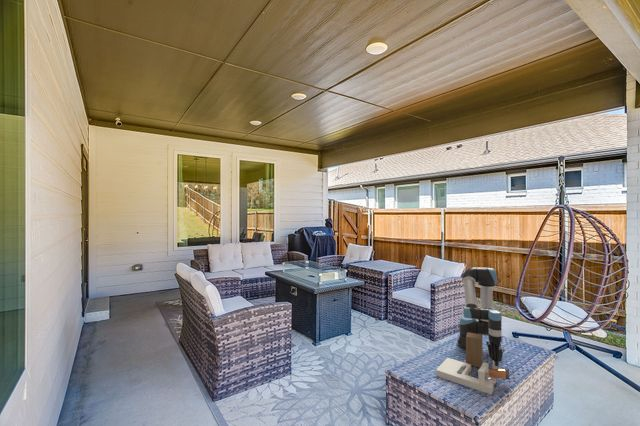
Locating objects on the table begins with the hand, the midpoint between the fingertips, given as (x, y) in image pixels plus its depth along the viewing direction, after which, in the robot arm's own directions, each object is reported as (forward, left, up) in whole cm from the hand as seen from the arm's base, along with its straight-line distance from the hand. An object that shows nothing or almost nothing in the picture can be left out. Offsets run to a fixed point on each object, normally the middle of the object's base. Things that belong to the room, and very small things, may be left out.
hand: (495, 370), depth 203 cm
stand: (+12, -14, -5) cm, 19 cm away
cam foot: (+8, 0, -5) cm, 9 cm away
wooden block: (-11, -16, -5) cm, 20 cm away
